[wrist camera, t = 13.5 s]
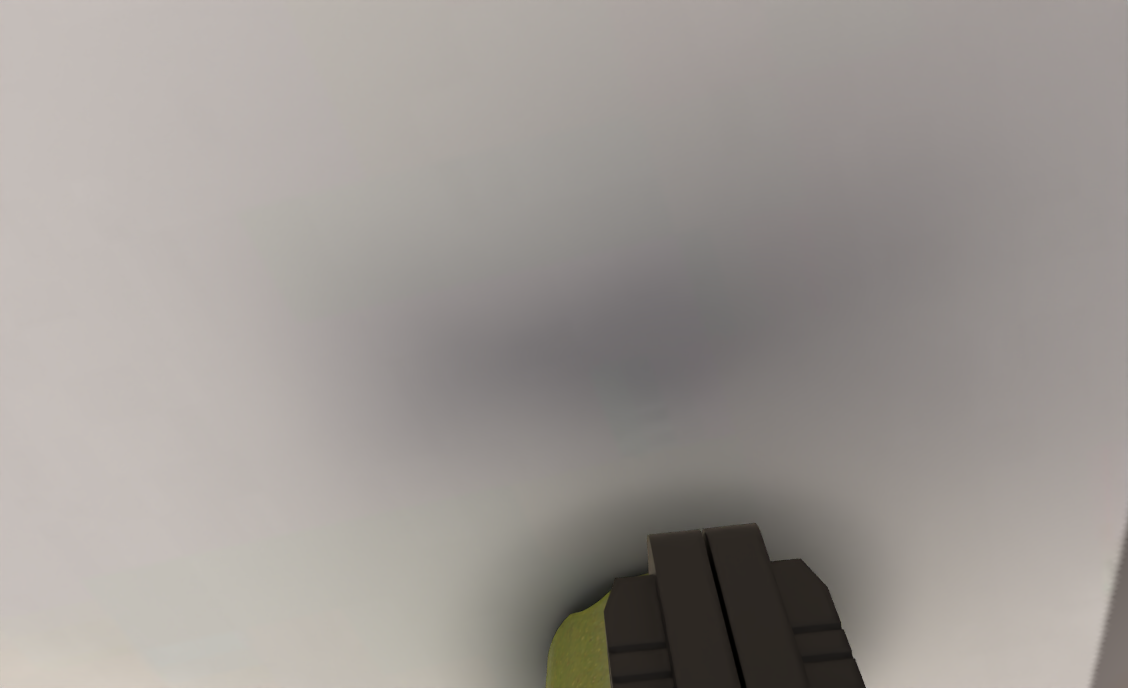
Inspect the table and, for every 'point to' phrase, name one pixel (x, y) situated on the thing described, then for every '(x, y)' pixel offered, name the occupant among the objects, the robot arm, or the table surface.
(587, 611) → the plant pot
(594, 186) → the table surface
